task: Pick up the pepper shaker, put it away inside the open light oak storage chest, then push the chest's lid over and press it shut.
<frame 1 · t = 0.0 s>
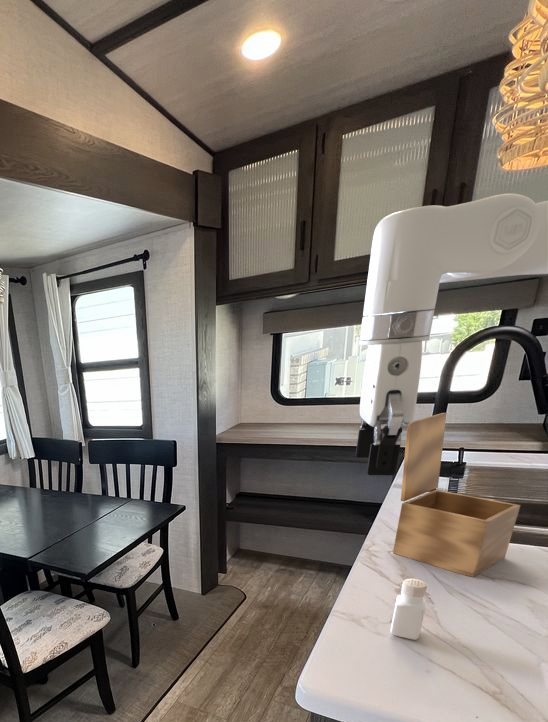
hand: (373, 465, 65), 30 cm above the counter, tool pointing down, fingers open, 9 cm apart
pepper shaker: (404, 633, 78), on the counter
lid: (423, 456, 100), point 20 cm above the counter, hinge at 95.0°
chest: (446, 555, 102), on the counter
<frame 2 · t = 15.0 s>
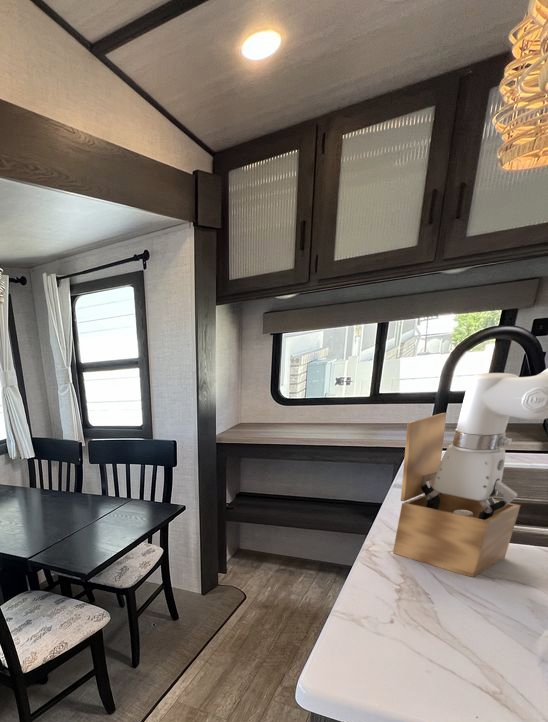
hand: (454, 522, 98), 8 cm above the counter, tool pointing down, fingers open, 9 cm apart
pepper shaker: (452, 554, 100), point 1 cm above the counter, touching chest
everything else where it was.
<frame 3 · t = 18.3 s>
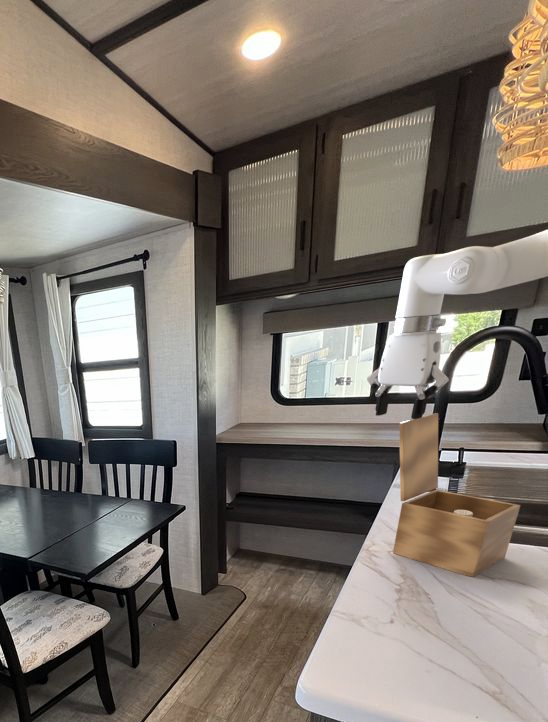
hand: (398, 415, 102), 29 cm above the counter, tool pointing down, fingers open, 7 cm apart
lid: (419, 456, 101), point 20 cm above the counter, hinge at 100.7°, touching gripper
everything else where it was.
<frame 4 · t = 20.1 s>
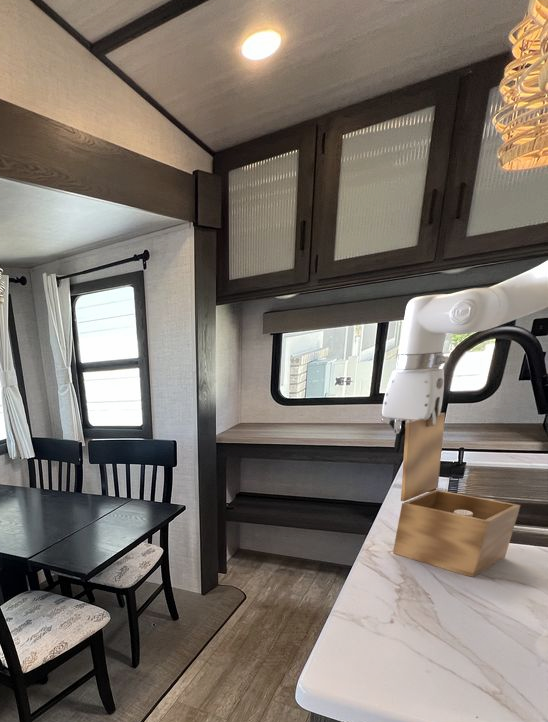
hand: (402, 451, 103), 21 cm above the counter, tool pointing down, fingers closed
lid: (422, 456, 100), point 20 cm above the counter, hinge at 96.0°, touching gripper
everything else where it was.
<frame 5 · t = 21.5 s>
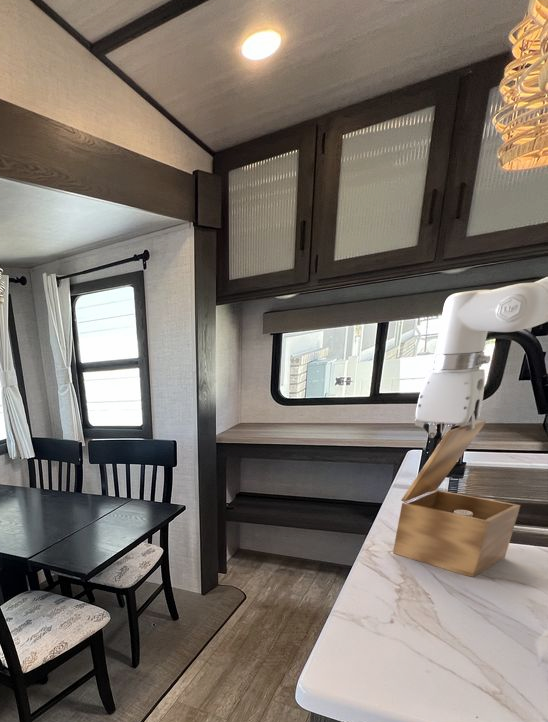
hand: (436, 456, 98), 21 cm above the counter, tool pointing down, fingers closed
lid: (442, 462, 97), point 20 cm above the counter, hinge at 68.5°
everything else where it was.
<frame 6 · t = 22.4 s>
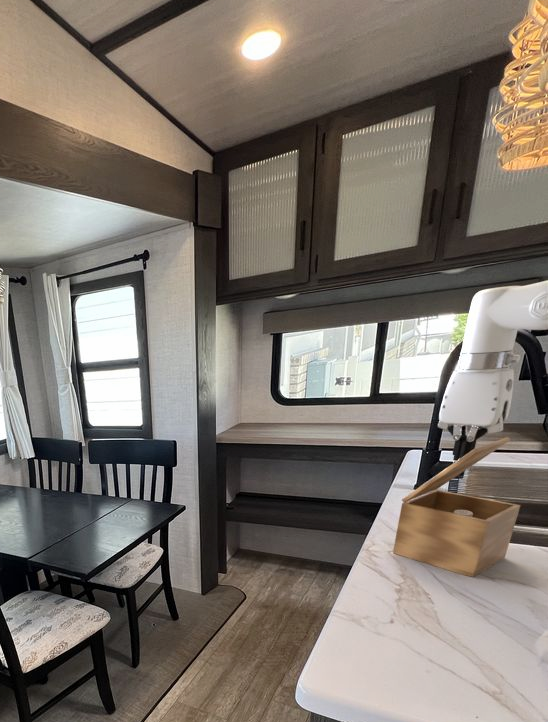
hand: (461, 459, 94), 21 cm above the counter, tool pointing down, fingers closed
lid: (453, 471, 96), point 18 cm above the counter, hinge at 48.5°, touching gripper
everything else where it was.
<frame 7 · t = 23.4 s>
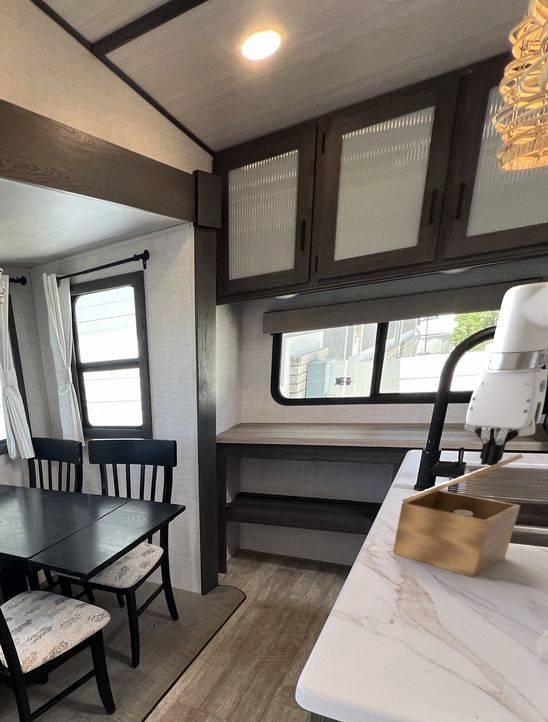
hand: (489, 463, 90), 21 cm above the counter, tool pointing down, fingers closed
lid: (459, 479, 95), point 17 cm above the counter, hinge at 34.3°, touching gripper
everything else where it was.
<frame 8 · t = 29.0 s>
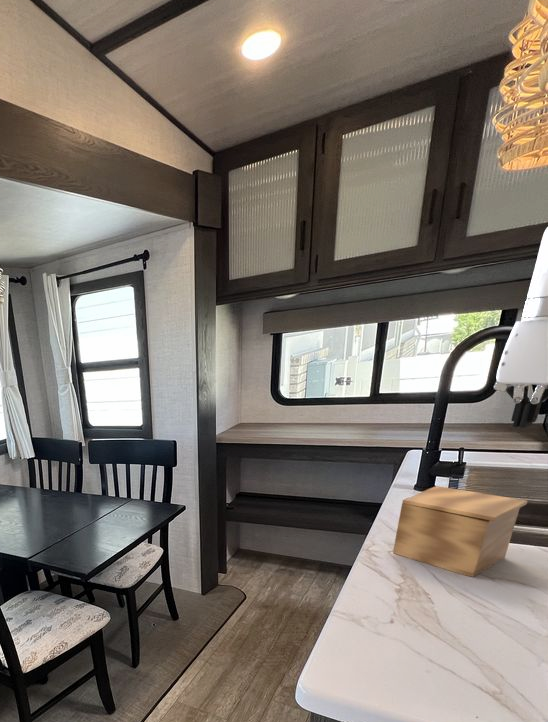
hand: (522, 426, 82), 29 cm above the counter, tool pointing down, fingers closed
lid: (462, 501, 96), point 12 cm above the counter, hinge at 1.1°
everything else where it was.
at the end: pepper shaker inside the target area in the chest (1.0 cm from its centre), point 0.6 cm above the chest's base; lid at +1° (first picture: +95°); the gripper is holding nothing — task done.
